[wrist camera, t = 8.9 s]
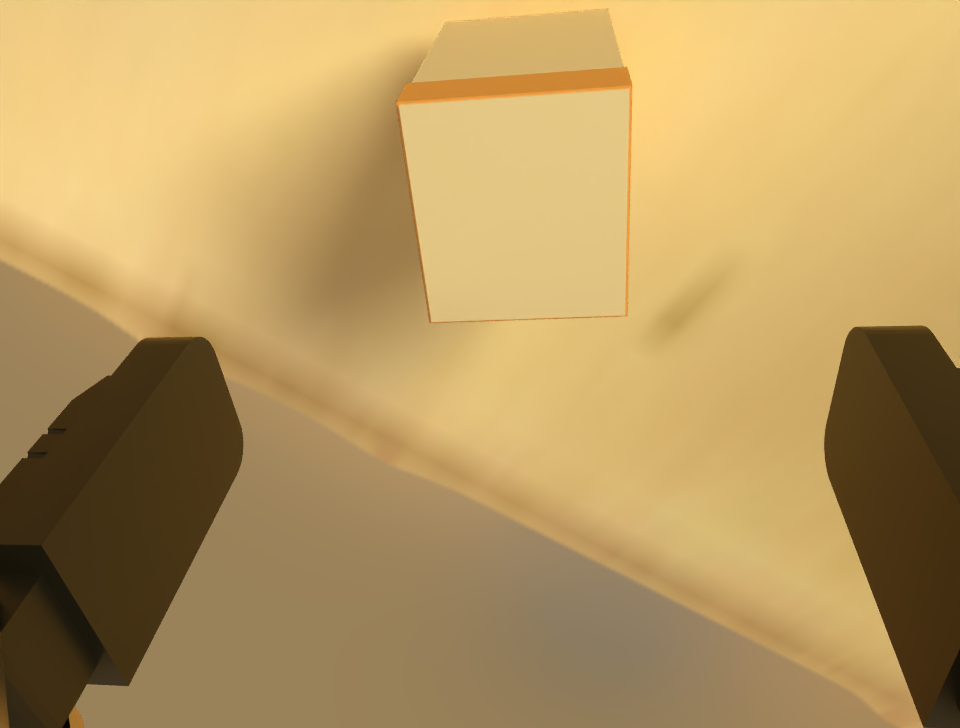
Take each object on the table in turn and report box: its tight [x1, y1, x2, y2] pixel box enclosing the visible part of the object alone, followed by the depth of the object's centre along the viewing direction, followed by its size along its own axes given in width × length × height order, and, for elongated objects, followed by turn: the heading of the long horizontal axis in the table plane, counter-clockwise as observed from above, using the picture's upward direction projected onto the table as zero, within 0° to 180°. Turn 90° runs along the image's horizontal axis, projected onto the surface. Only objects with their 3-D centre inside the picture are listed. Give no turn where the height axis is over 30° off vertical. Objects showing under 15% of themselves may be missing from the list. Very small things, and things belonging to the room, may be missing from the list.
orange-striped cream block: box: [396, 9, 632, 323], centre depth 17 cm, size 4×5×7 cm
